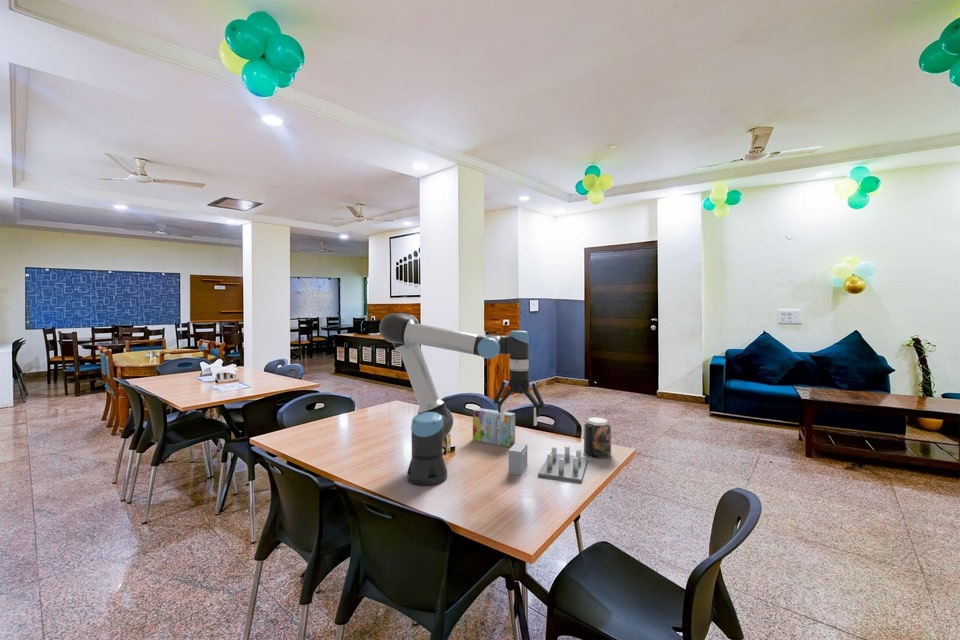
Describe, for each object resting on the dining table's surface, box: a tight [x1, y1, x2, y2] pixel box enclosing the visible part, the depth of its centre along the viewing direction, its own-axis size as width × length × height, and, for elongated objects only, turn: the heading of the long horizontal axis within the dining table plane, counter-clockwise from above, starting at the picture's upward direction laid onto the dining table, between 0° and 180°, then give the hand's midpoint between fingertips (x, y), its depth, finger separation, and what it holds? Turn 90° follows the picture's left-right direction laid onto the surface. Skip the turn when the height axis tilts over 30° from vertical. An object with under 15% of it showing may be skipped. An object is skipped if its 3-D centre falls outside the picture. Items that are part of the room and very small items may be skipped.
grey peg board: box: [537, 445, 589, 484], centre depth 161 cm, size 16×24×6 cm, turn 159°
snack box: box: [472, 407, 516, 448], centre depth 192 cm, size 21×6×15 cm, turn 58°
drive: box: [508, 442, 528, 476], centre depth 159 cm, size 5×10×9 cm, turn 159°
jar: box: [583, 416, 612, 459], centre depth 177 cm, size 12×12×15 cm
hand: (518, 423), depth 159 cm, fingers open, 13 cm apart
